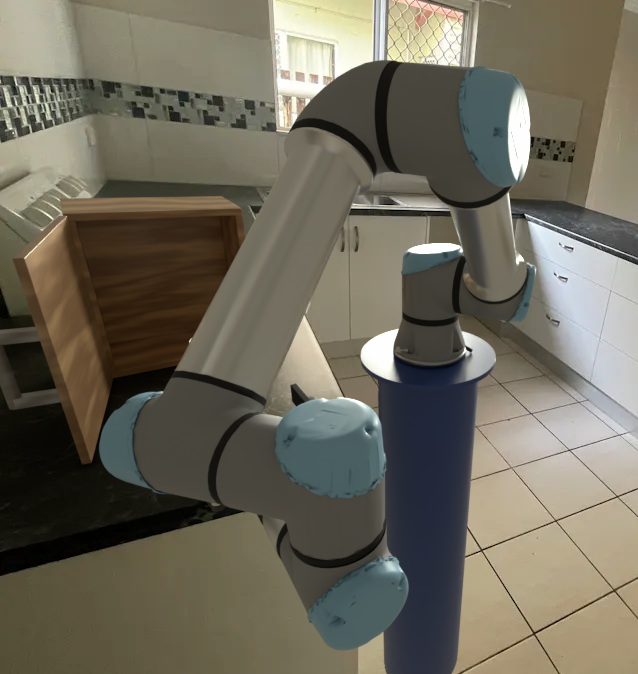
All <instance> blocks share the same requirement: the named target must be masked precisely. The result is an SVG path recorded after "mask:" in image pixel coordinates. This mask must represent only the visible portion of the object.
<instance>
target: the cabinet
mask: <svg viewBox="0 0 638 674" xmlns="http://www.w3.org/2000/svg"><path fill="white" fill-rule="evenodd" d="M59 202H60V207H61V208H60V209H61V213H62V216H67V217H68V221H69V224H70V228H71V231H72V235H73V239H74V242H75V246H76V249H77V253H78V256H79V260H80V263H81V267H82V271H83V274H84V278H85V281H86V285H87V288H88V292H89V295H90V299H91V303H92V306H93V310H94V313H95V317H96V320H97V324H98V327H99V331H100V335H101V338H102V342H103V345H104V349H105V352H106V356H107V359H108V363H109V367H110V370H111V374H112V377H113V379H118V378H122V377H127V376H133V375H136V374H137V375H138V374H141V373H148V372H151V371H156V370H161V369H166V368H171V367H175V366H176V367H177V366H178V364H179V362H180V360H181V358H182V356H183V355H184V353H185V351H186V349H187V347H188V345H189V341H190V339H191V338H192V337H193V336H194V334H195V332H196V330H197V328H198V326H199V324H200V323H201V321H202V319H203V317H204V315H205V313H206V311H207V309H208V307H209V306H210V304H211V302H212V300H213V298H214V296H215V294H216V292H217V290H218V289H219V287H220V285H221V283H222V281H223V279H224V277H225V275H226V274H227V272H228V270H229V268H230V266H231V264H232V262H233V260H234V258H235V257H236V255H237V253H238V251H239V249H240V247H241V245H242V243H243V241H244V240H245V238H246V232H245V224H244V218H243V217H244V215H243V209H242V208H241V207H240V206H238V205H237V204H235V203H233V202H232V201H231V200H229V199H228V198H226V197H224V196H222V195H220V196H219V195H215V196H211V195H210V196H208V195H207V196H149V197H148V196H147V197H146V196H143V197H141V196H139V197H137V196H136V197H81V198H80V197H78V198H75V197H73V198H72V197H71V198H69V197H68V198H66V197H65V198H59Z"/></svg>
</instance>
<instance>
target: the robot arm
mask: <svg viewBox="0 0 638 674" xmlns="http://www.w3.org/2000/svg"><path fill="white" fill-rule="evenodd" d="M530 128H531V117H530V109H529V101H528V97H527V93H526V90H525V88H524V86H523V84H522V82H521V81H520V80H519V79H518V77H517V76H516V75H514V74H512V73H511V72H509V71H504V70H499V69H493V68H488V67H486V66H483V65H476V66H475V65H474V66H460V65H459V66H458V65H446V64H435V63H434V64H433V63H421V62H409V61H408V62H407V61H397V60H393V59H392V60H391V59H379V60H372V61H368V62H363V63H361V64H360V65H357V66H354V67H353V68H350V69H348V70H347V71H345V72H344V73H342V74H340V75H338V76H336V77H335V78H334V79H333V80H332V81H330V82H329V83H328V84H326V85H325V86H324V87H323V88H322V89H321V90H320V91H319V92H317V94H316V95H315V96H314V97H313V98H311V100H310V101H309V102H308V103H307V104H306V105H305V106H304V108H303V109H302V110H301V112H300V113H299V114H298V116H297V117H296V118H295V120H294V122H293V124H292V125H291V127H290V129H289V131H288V133H287V135H286V137H285V139H284V142H283V149H284V150H283V151H284V152H285V156H286V158H287V159H286V161H285V162H284V164H283V166H282V168H281V169H280V171H279V174H278V176H277V177H276V179H275V181H274V183H273V184H272V187H271V189H270V191H269V193H268V194H267V197H266V198H265V200H264V202H263V204H262V206H261V207H260V209H259V212H258V213H257V215H256V217H255V219H254V221H253V223H252V225H251V226H250V229H248V232H247V234H246V235H245V240H244V241H243V243H242V245H241V247H240V249H239V251H238V253H237V255H236V257H235V258H234V260H233V262H232V264H231V266H230V268H229V270H228V272H227V274H226V275H225V277H224V279H223V281H222V283H221V285H220V287H219V289H218V290H217V292H216V294H215V296H214V298H213V300H212V302H211V304H210V306H209V307H208V309H207V311H206V313H205V315H204V317H203V319H202V321H201V323H200V324H199V326H198V328H197V330H196V332H195V334H194V336H193V338H192V339H191V341H190V343H189V345H188V347H187V349H186V351H185V353H184V355H183V356H182V358H181V360H180V362H179V364H178V365H177V366H176V368H175V369H174V372H173V373H172V375H171V377H170V378H169V380H168V382H167V383H166V386H165V387H164V389H163V391H162V390H159V391H148V392H147V391H146V392H142V393H139V394H135V395H134V396H132V397H130V398H129V399H127V400H126V401H125V403H124V404H123V405H122V406H121V407H119V408H118V409H115V410H114V411H113V412H112V413H111V414H110V416H109V418H108V419H107V420H106V422H105V424H104V425H103V427H102V431H101V435H100V439H99V444H98V451H99V457H100V460H101V463H102V465H103V466H104V468H105V470H106V471H107V472H108V473H109V474H110V475H112V476H113V477H115V478H117V479H119V480H121V481H123V482H125V483H128V484H132V485H135V486H139V487H142V488H146V489H149V490H151V491H152V492H153V493H157V494H158V495H159V494H160V495H168V494H169V495H173V496H174V495H175V496H179V497H184V498H189V499H194V500H198V501H201V502H206V503H207V505H208V506H209V508H210V509H211V511H212V512H214V513H218V512H221V511H224V510H225V509H226V508H229V509H234V510H238V511H243V512H246V513H251V514H255V515H256V516H257V517H258V519H259V521H260V523H261V525H262V526H263V529H264V532H265V533H266V535H267V537H268V539H269V541H270V543H271V545H272V547H273V549H274V550H275V553H276V554H277V556H278V558H279V559H280V561H281V563H282V564H283V567H284V568H285V571H286V573H287V575H288V577H289V579H290V581H291V583H292V585H293V587H294V589H295V591H296V593H297V595H298V597H299V600H300V601H301V603H302V605H303V607H304V610H305V611H306V614H307V616H306V617H307V620H308V622H309V623H311V624H312V626H313V627H314V629H315V630H316V633H318V635H319V636H320V638H321V639H322V641H323V642H324V644H325V645H326V646H327V647H329V648H331V649H332V650H335V651H343V652H344V651H350V650H351V651H352V650H355V649H358V648H360V647H363V646H364V645H367V644H368V643H369V642H371V641H372V640H373V639H376V637H378V636H380V635H381V634H383V632H384V631H385V630H386V629H387V628H388V627H389V626H390V625H391V624H392V622H393V621H394V620H395V619H396V617H397V616H398V614H399V613H400V611H401V610H402V608H403V606H404V604H405V602H406V599H407V595H408V580H407V577H406V575H405V574H404V572H403V570H402V569H401V567H400V566H399V561H398V560H397V558H396V557H393V556H392V555H391V554H390V552H389V550H388V547H387V529H386V520H385V471H386V456H385V453H384V448H383V438H382V428H381V422H380V420H379V416H378V414H377V412H376V411H375V410H374V409H373V408H372V407H371V406H369V405H368V404H366V403H364V402H362V401H360V400H357V399H354V398H350V397H343V396H338V397H335V398H333V399H326V398H324V397H320V398H317V397H316V396H314V395H311V396H307V394H306V393H305V392H304V391H303V389H301V387H300V386H299V385H298V384H297V383H291V384H290V394H291V402H292V404H294V406H295V407H292V408H291V409H290V410H288V411H287V412H286V413H285V414H284V415H283V416H280V415H279V416H278V415H273V414H268V413H264V412H263V411H264V409H265V406H266V405H267V402H268V399H269V396H270V394H271V393H272V390H273V387H274V385H275V383H276V380H277V378H278V376H279V374H280V372H281V369H282V367H283V365H284V362H285V360H286V358H287V356H288V353H289V351H290V349H291V346H292V344H293V341H294V339H295V338H296V334H297V333H298V330H299V328H300V325H301V323H302V321H303V319H304V317H305V314H306V312H307V310H308V307H309V305H310V303H311V300H312V299H313V296H314V294H315V292H316V289H317V287H318V285H319V283H320V280H321V279H322V276H323V273H324V271H325V270H326V269H325V268H326V267H327V264H328V262H329V259H330V257H331V255H332V253H333V250H334V248H335V247H336V244H337V242H338V239H339V237H340V234H341V232H342V230H343V227H344V226H345V223H346V221H347V218H348V216H349V214H350V212H351V209H352V207H353V205H354V202H355V200H356V198H357V197H360V196H362V195H365V194H366V193H367V192H369V191H370V189H371V187H372V186H373V183H374V181H375V179H376V177H377V176H378V175H381V174H384V173H394V174H400V175H401V174H402V175H411V176H420V177H425V178H426V181H427V184H428V187H429V188H430V191H431V193H432V194H433V195H434V196H435V198H436V199H437V200H438V201H440V202H441V203H442V204H444V205H446V206H447V207H448V210H449V211H450V212H449V213H450V216H451V218H452V221H453V225H454V228H455V231H456V234H457V237H458V241H459V242H460V245H459V244H455V243H445V242H443V243H440V242H439V243H428V244H427V243H426V244H421V245H417V246H413V247H411V248H409V249H407V250H406V251H405V252H404V253H403V255H402V263H401V264H402V265H401V271H400V274H401V321H400V323H399V327H398V328H397V329H398V332H397V335H396V338H395V340H394V344H393V355H394V357H395V358H396V359H397V360H398V361H399V362H401V363H403V364H405V365H407V366H411V367H415V368H421V369H440V368H446V367H450V366H453V365H455V364H458V363H459V362H461V361H462V360H463V359H464V357H465V350H467V351H469V352H472V351H473V349H471V348H469V347H468V346H466V345H465V342H464V338H463V335H462V331H463V330H462V327H461V325H460V320H459V319H460V315H466V316H471V317H472V316H473V317H477V318H483V319H492V320H497V321H504V322H506V323H523V322H524V321H525V320H527V316H528V313H529V308H530V303H531V299H532V294H533V288H534V285H535V281H536V275H537V266H535V264H531V263H530V262H526V261H525V260H524V258H523V257H522V255H521V254H520V253H519V251H517V250H516V244H515V243H516V242H515V234H514V226H513V217H512V209H511V201H510V191H511V190H512V189H513V188H514V186H516V185H517V184H519V183H521V181H523V179H524V177H525V174H526V170H527V167H528V163H529V157H530V147H531V134H530Z"/></svg>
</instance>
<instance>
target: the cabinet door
mask: <svg viewBox="0 0 638 674" xmlns="http://www.w3.org/2000/svg"><path fill="white" fill-rule="evenodd" d="M12 262H13V266H14V267H15V271H16V274H17V277H18V280H19V283H20V285H21V288H22V292H23V294H24V297H25V300H26V304H27V307H28V309H29V312H30V315H31V318H32V322H33V325H34V326H28V327H17V328H9V329H7V328H5V329H0V389H1V392H2V394H3V396H4V398H5V402H6V404H7V406H8V410H11V411H17V410H22V409H29V408H34V407H39V406H41V407H42V406H47V405H53V404H58V403H59V404H61V407H62V410H63V413H64V415H65V418H66V422H67V425H68V427H69V430H70V433H71V436H72V439H73V442H74V445H75V448H76V450H77V454H78V456H79V459H80V462H81V465H83V466H84V465H88V464H92V463H93V462H92V461H93V459H94V454H95V451H96V447H97V444H98V439H99V434H100V432H101V427H102V423H103V420H104V418H105V417H104V416H105V413H106V408H107V405H108V402H109V397H110V394H111V389H112V385H113V382H114V378H113V377H112V374H111V370H110V367H109V363H108V359H107V356H106V352H105V349H104V345H103V342H102V338H101V335H100V331H99V327H98V324H97V320H96V317H95V313H94V310H93V306H92V303H91V299H90V295H89V292H88V288H87V285H86V281H85V278H84V274H83V271H82V267H81V263H80V260H79V256H78V253H77V249H76V246H75V242H74V239H73V235H72V231H71V228H70V224H69V221H68V217H67V216H63V215H57V217H56V218H54V220H52V221H51V222H50V223H49V224H48V225H47V226H46V227H45V228H44V229H42V231H40V233H38V234H37V235H36V236H35V237H34V238H33V239H32V240H30V242H29V243H28V244H26V245H25V246H24V248H22V249H21V250H20V251H19V252H18V253H17V254H15V256H14V257H13V258H12ZM35 342H36V343H37V342H40V345H41V347H42V351H43V354H44V356H45V360H46V362H47V365H48V368H49V371H50V374H51V377H52V380H53V383H54V385H55V388H51V389H45V390H37V391H31V392H30V391H29V392H24V393H21V390H20V388H19V384H18V382H17V380H16V377H15V374H14V371H13V369H12V366H11V363H10V360H9V358H8V355H7V352H6V350H5V347H4V346H6V345H7V346H8V345H16V344H17V345H18V344H25V343H35Z"/></svg>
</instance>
